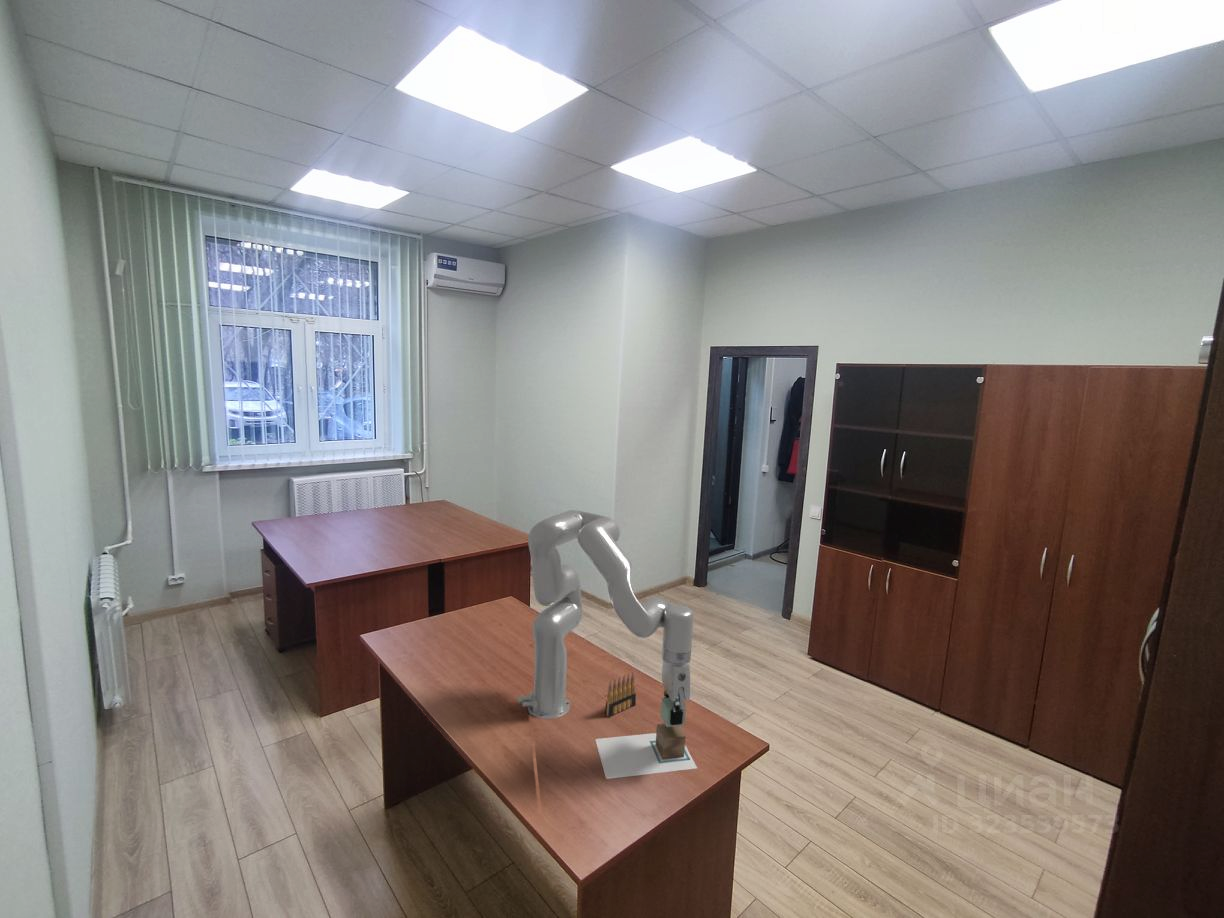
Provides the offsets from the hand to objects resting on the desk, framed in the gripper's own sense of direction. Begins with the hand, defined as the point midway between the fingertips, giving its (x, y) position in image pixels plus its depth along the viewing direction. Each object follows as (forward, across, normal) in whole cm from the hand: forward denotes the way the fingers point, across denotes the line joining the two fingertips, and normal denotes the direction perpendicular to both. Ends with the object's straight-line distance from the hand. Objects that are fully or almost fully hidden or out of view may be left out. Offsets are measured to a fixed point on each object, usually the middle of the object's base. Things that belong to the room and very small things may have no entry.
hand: (672, 716), depth 141 cm
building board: (+11, 0, +7) cm, 13 cm away
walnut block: (+10, 0, 0) cm, 10 cm away
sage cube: (+1, 0, 0) cm, 1 cm away
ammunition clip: (+11, +20, +9) cm, 24 cm away
